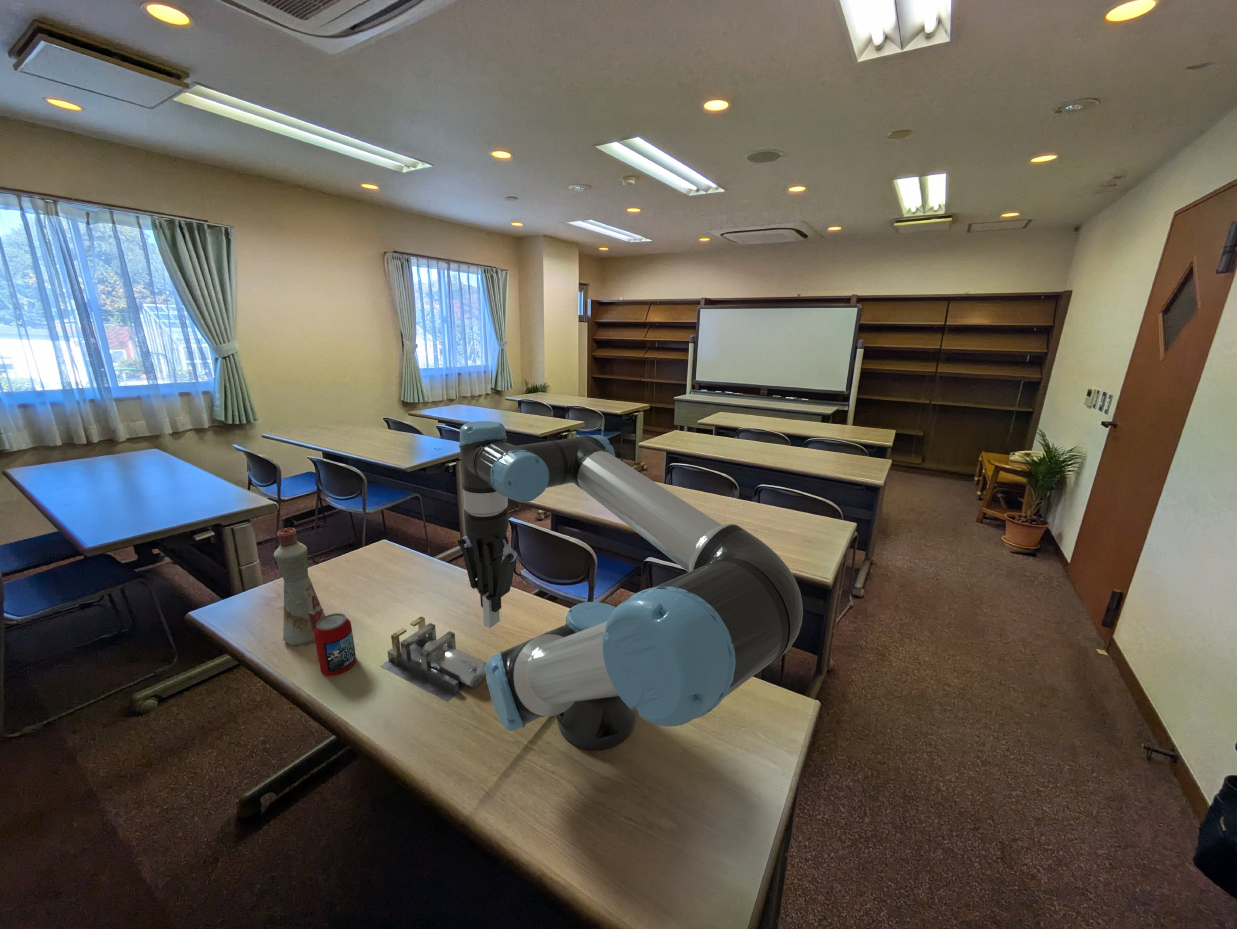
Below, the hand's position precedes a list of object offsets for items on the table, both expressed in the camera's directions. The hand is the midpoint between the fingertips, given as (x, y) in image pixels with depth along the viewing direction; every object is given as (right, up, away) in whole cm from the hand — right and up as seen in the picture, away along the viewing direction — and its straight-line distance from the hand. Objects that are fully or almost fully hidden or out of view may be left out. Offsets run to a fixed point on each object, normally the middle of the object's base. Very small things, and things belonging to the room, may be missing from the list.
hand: (491, 623), depth 89 cm
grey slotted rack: (-16, -14, +12) cm, 24 cm away
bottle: (-50, -11, +21) cm, 55 cm away
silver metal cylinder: (-11, -14, +10) cm, 20 cm away
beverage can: (-36, -14, +12) cm, 40 cm away
